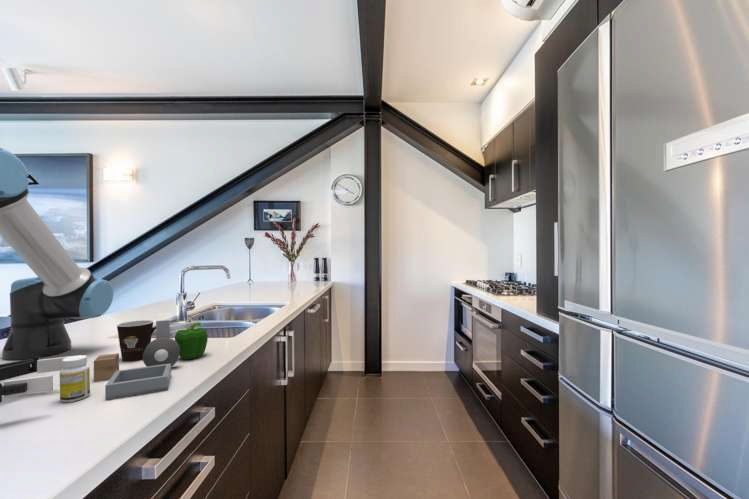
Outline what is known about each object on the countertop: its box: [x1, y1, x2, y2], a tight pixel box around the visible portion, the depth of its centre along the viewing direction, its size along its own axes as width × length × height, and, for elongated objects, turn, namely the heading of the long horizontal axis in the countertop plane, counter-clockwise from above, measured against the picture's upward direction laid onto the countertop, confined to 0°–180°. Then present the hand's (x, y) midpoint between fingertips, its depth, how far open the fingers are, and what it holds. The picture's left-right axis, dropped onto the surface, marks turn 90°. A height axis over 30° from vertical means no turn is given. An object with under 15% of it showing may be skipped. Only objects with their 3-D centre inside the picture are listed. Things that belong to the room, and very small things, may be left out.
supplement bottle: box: [59, 354, 91, 403], centre depth 72 cm, size 5×5×8 cm
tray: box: [104, 363, 172, 401], centre depth 78 cm, size 10×11×3 cm
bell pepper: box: [174, 321, 209, 360], centre depth 100 cm, size 8×8×10 cm
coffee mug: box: [116, 319, 156, 363], centre depth 99 cm, size 12×9×10 cm
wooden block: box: [93, 352, 120, 383], centre depth 84 cm, size 5×4×5 cm
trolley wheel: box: [142, 319, 180, 368], centre depth 91 cm, size 6×8×12 cm
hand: (65, 371), depth 71 cm, fingers open, 13 cm apart
